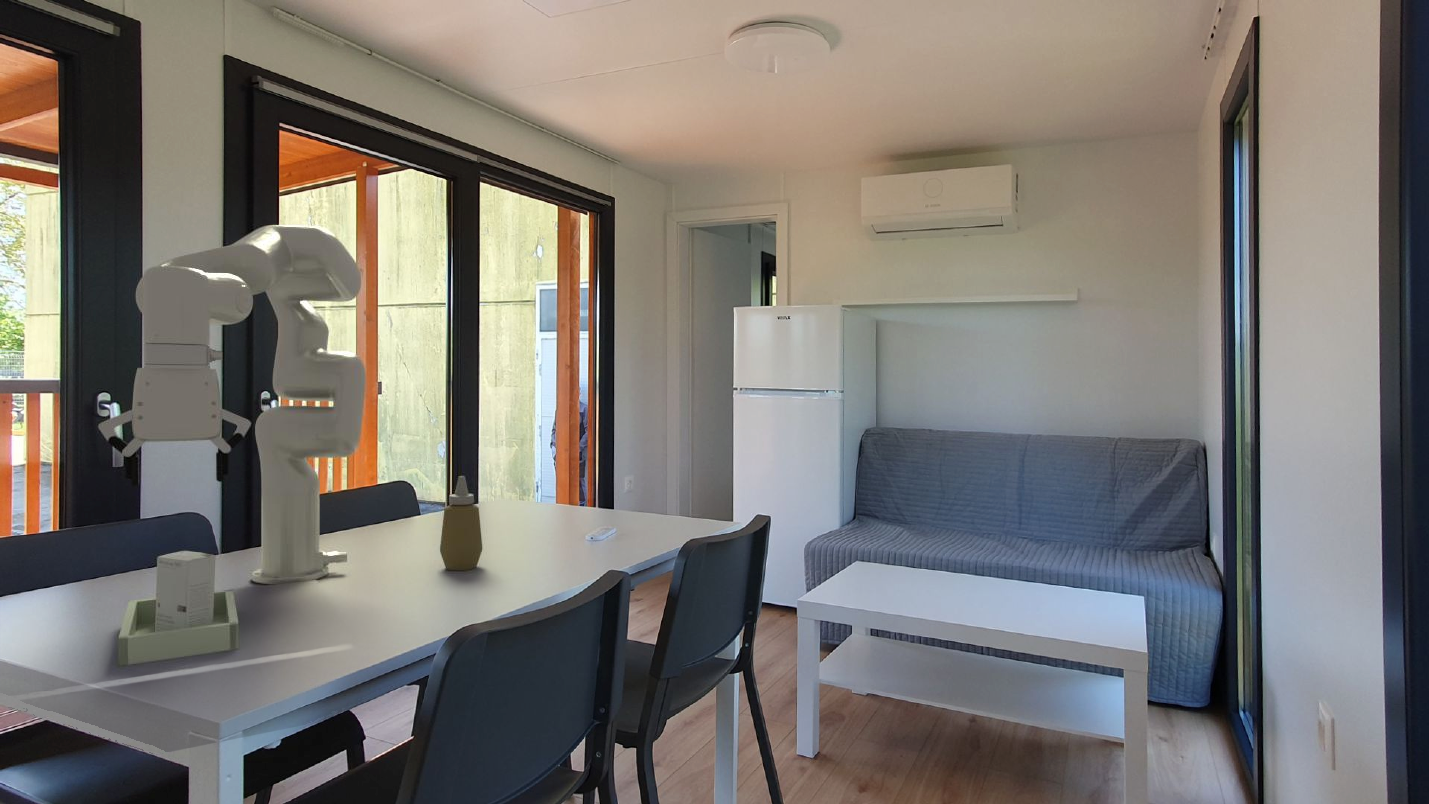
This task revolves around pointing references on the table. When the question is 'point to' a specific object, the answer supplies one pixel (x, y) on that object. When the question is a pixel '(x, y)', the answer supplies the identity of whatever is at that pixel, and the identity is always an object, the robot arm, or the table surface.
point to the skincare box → (184, 590)
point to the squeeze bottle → (461, 530)
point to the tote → (176, 633)
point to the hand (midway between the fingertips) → (178, 482)
